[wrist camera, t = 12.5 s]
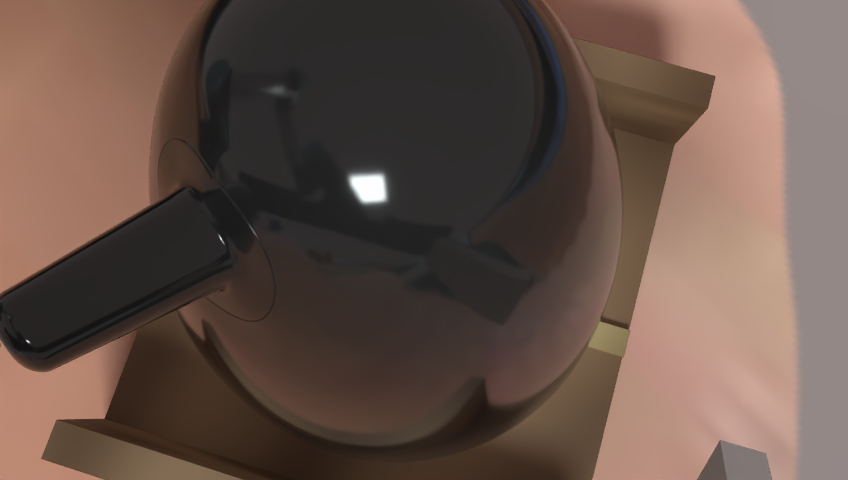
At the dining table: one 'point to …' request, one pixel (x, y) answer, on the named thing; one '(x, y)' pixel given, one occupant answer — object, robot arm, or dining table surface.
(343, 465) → the track
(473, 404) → the pump dispenser
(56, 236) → the dining table surface
